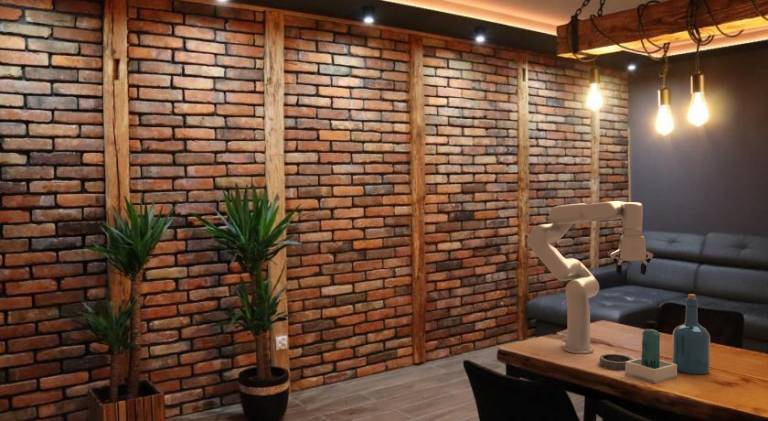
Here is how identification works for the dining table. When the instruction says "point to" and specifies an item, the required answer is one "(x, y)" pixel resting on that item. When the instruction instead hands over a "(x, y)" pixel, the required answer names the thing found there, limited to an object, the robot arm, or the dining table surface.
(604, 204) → the robot arm
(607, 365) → the holder ring
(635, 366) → the bin
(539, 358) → the dining table surface
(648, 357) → the beverage bottle
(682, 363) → the wine bottle
